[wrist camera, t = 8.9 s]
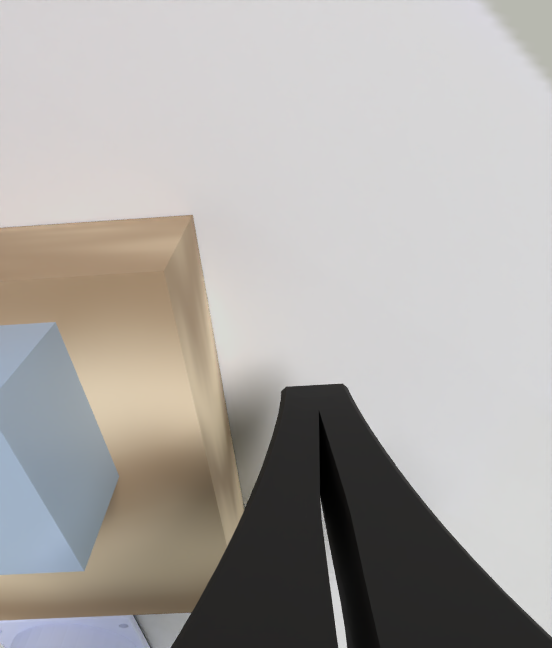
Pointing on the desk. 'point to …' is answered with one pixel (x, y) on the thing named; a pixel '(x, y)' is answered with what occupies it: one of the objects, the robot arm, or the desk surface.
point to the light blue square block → (48, 456)
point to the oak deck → (132, 409)
